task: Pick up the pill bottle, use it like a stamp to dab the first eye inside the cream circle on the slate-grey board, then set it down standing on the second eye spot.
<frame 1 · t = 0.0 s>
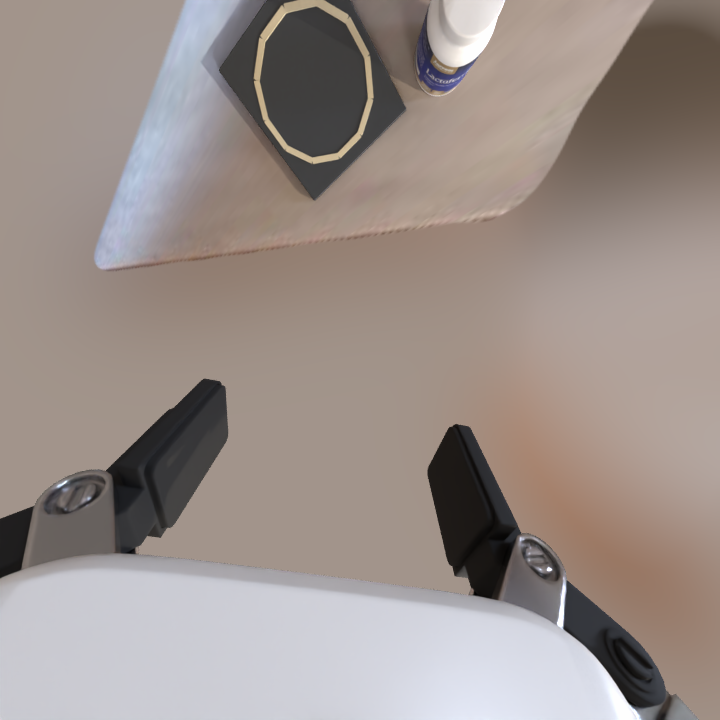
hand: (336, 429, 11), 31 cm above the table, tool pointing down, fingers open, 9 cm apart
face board: (315, 92, 28), on the table
pill bottle: (440, 62, 27), on the table
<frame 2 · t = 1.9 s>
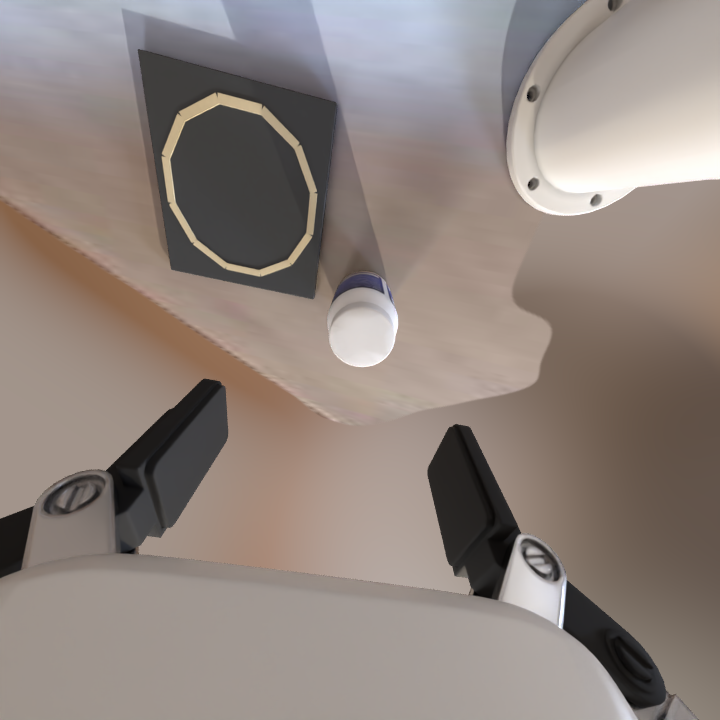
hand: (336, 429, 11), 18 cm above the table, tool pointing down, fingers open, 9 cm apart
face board: (245, 198, 22), on the table
pill bottle: (363, 298, 27), on the table
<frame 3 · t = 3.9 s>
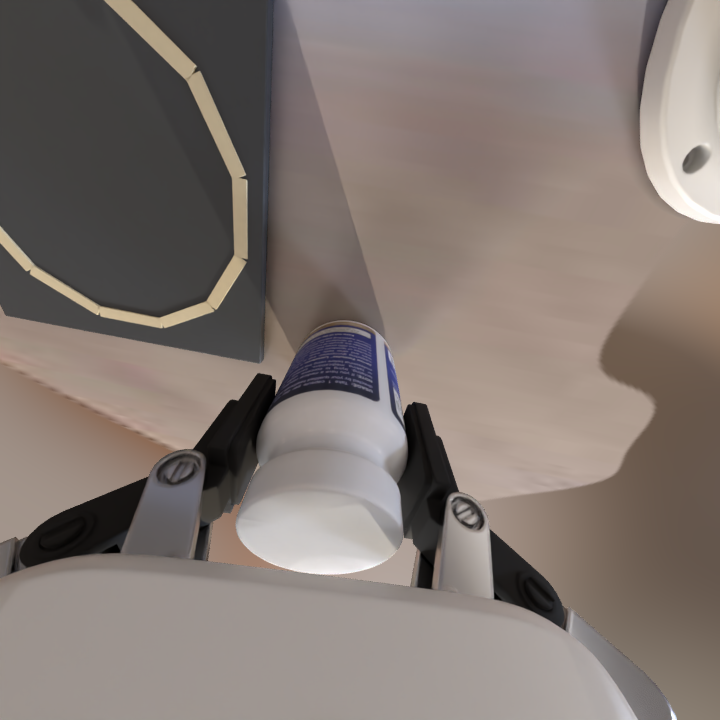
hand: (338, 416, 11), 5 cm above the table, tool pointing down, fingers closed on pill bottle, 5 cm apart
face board: (112, 189, 12), on the table
pill bottle: (346, 359, 16), on the table, touching gripper
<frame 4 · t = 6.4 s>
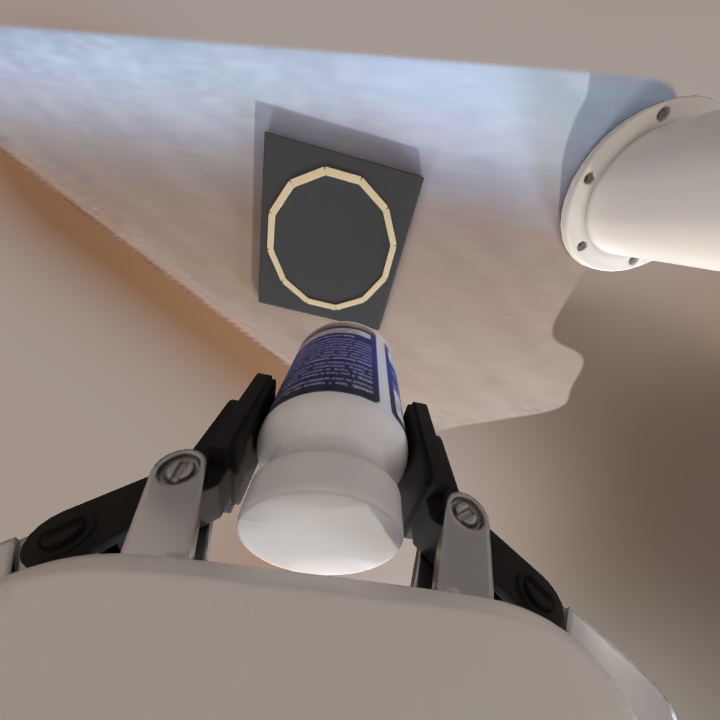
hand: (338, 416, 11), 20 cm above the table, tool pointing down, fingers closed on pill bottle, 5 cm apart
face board: (332, 246, 26), on the table
pill bottle: (346, 360, 16), point 15 cm above the table, touching gripper
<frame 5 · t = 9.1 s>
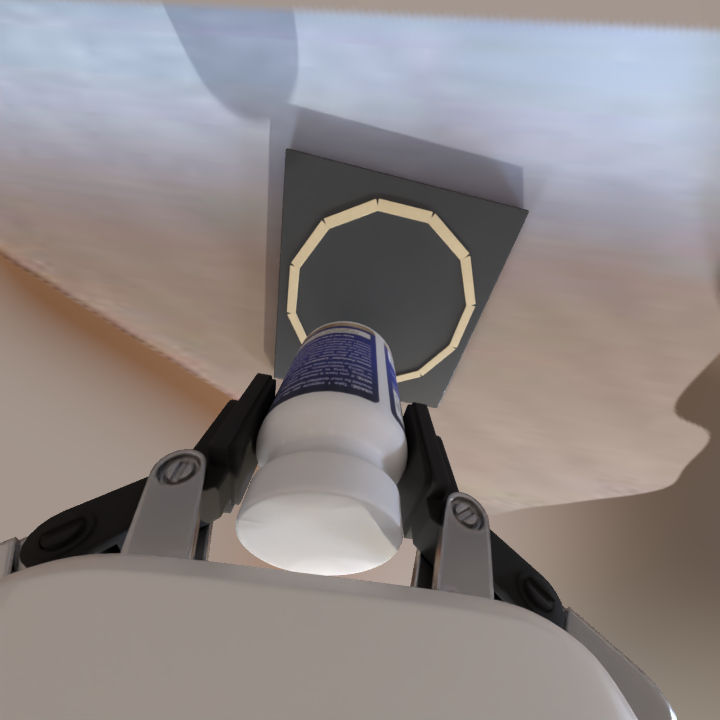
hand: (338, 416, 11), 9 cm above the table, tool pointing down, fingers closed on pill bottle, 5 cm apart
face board: (379, 306, 18), on the table
pill bottle: (346, 360, 16), point 4 cm above the table, touching gripper
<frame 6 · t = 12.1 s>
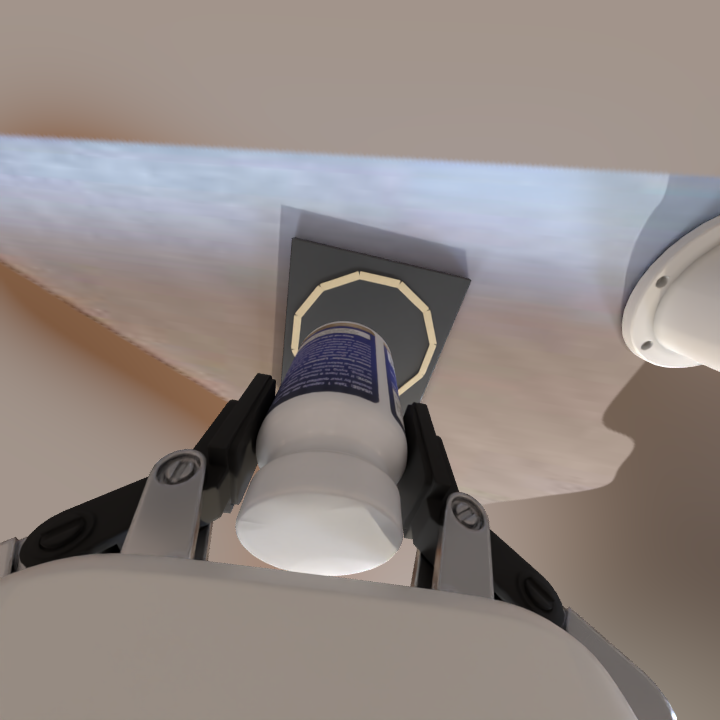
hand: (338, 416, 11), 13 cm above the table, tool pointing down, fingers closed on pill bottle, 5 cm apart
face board: (363, 343, 23), on the table
pill bottle: (346, 360, 16), point 7 cm above the table, touching gripper
when the fingers open (6 cm above the table, at t = 14.4 s): pill bottle stays where it is, resting on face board.
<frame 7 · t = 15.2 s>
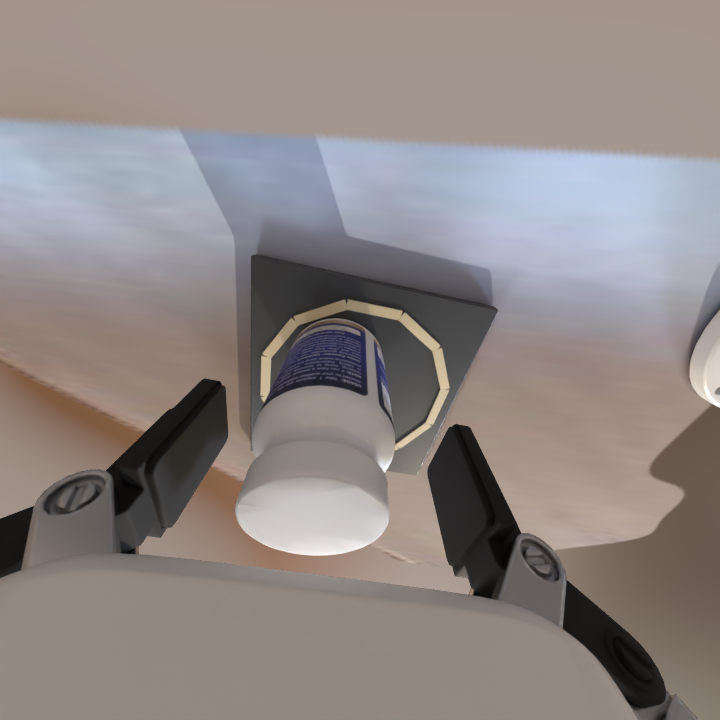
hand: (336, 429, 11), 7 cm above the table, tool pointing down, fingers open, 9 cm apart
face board: (354, 387, 18), on the table
pill bottle: (338, 356, 16), resting on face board
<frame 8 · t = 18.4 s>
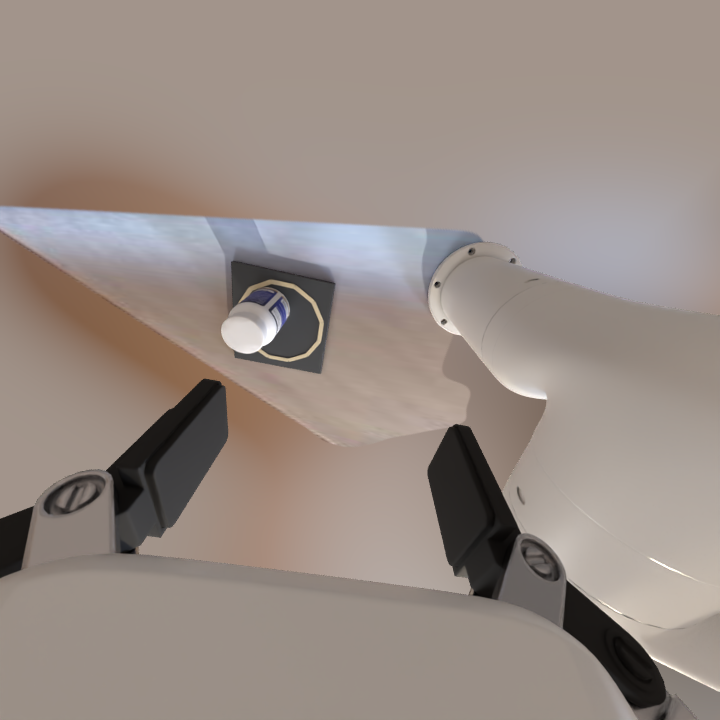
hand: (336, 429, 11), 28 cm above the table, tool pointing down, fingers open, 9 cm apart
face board: (281, 322, 39), on the table
pill bottle: (271, 305, 37), resting on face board
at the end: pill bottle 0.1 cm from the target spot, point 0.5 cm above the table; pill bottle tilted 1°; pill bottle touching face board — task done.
